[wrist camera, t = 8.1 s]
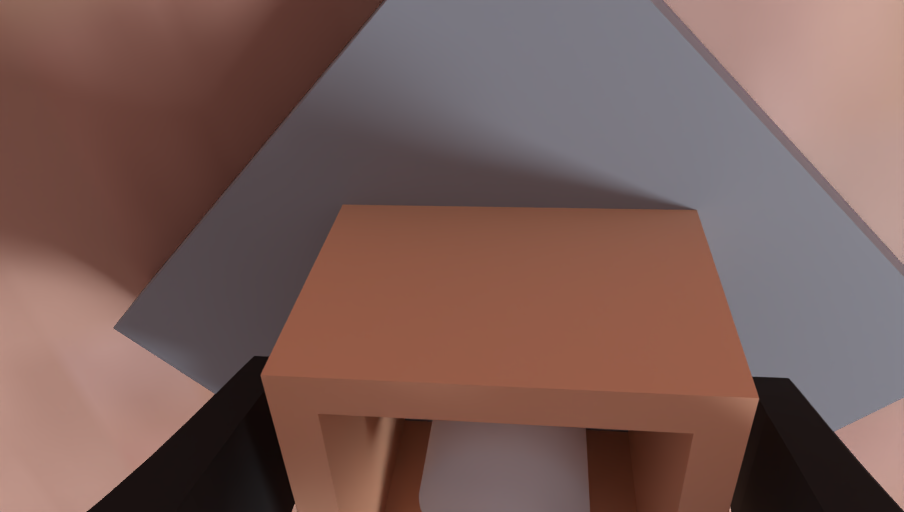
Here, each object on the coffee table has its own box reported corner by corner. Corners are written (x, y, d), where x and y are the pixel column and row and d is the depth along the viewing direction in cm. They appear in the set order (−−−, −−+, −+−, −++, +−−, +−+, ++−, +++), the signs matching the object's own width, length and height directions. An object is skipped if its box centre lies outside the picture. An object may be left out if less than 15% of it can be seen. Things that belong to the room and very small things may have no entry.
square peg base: (517, 532, 18) (507, 750, 14) (148, 282, 15) (-2, 473, 11) (939, 304, 13) (1116, 547, 9) (517, -161, 10) (492, -110, 6)
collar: (656, 454, 14) (687, 662, 11) (379, 439, 15) (329, 630, 11) (697, 209, 11) (759, 398, 8) (342, 204, 12) (260, 375, 8)
